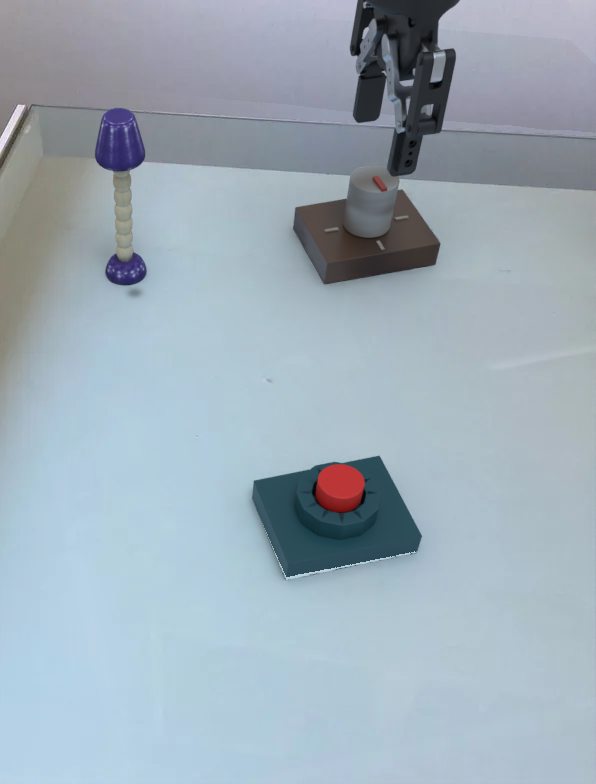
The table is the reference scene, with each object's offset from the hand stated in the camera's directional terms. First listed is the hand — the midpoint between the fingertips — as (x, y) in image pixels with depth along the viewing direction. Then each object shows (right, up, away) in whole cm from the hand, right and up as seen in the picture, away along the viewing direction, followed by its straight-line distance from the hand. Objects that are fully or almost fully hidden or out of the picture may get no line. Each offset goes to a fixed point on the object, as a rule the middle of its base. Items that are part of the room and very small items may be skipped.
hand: (382, 145), depth 80 cm
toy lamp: (-22, -5, +18) cm, 29 cm away
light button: (-5, -30, -5) cm, 31 cm away
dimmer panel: (+3, -1, +20) cm, 20 cm away
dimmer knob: (+3, 0, +18) cm, 18 cm away
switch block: (-5, -32, -2) cm, 32 cm away
